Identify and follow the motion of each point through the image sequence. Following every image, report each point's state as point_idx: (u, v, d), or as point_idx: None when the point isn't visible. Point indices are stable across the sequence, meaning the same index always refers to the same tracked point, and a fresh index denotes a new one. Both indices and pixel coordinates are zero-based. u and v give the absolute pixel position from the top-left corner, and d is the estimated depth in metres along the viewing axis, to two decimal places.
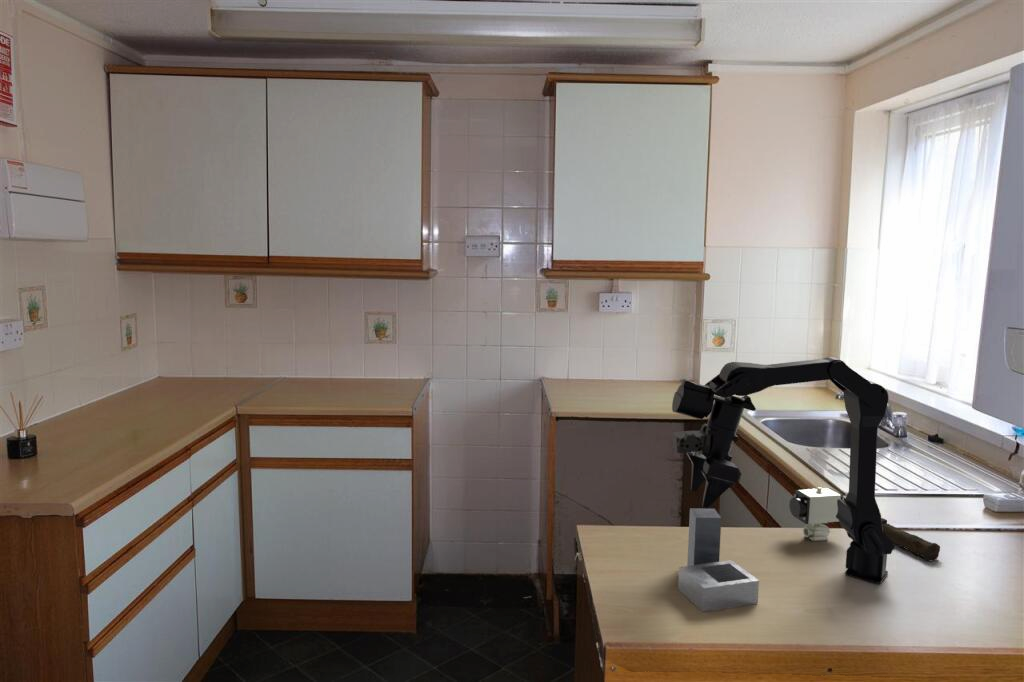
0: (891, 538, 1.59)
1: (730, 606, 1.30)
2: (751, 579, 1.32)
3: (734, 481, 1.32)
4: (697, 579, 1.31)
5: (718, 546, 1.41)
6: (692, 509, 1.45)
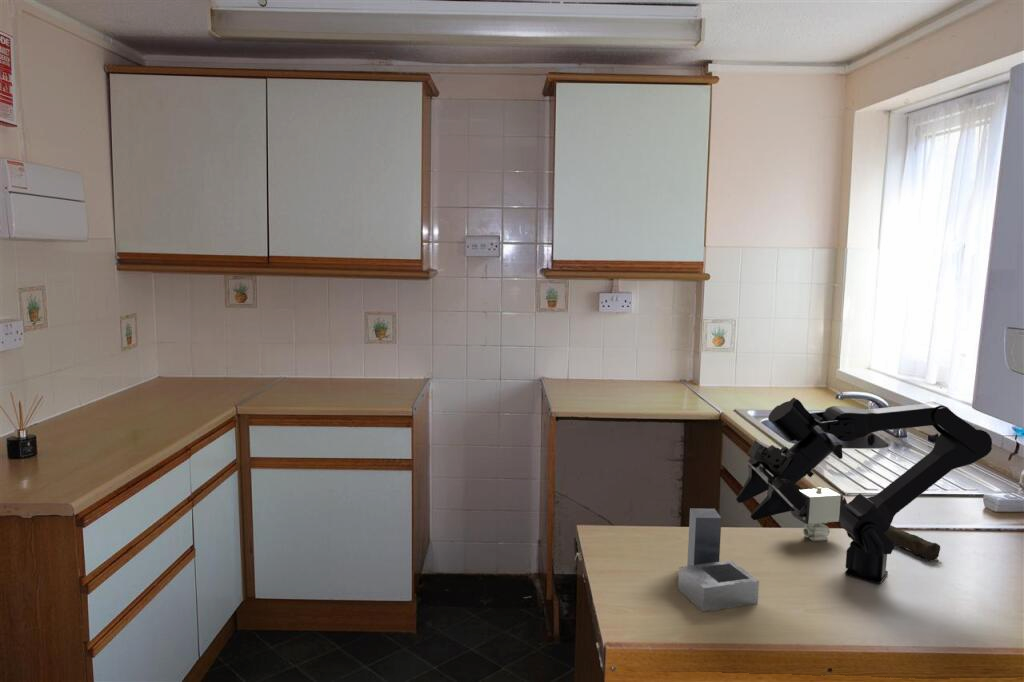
0: (891, 538, 1.59)
1: (730, 606, 1.30)
2: (751, 579, 1.32)
3: (798, 508, 1.33)
4: (697, 579, 1.31)
5: (718, 546, 1.41)
6: (692, 509, 1.45)
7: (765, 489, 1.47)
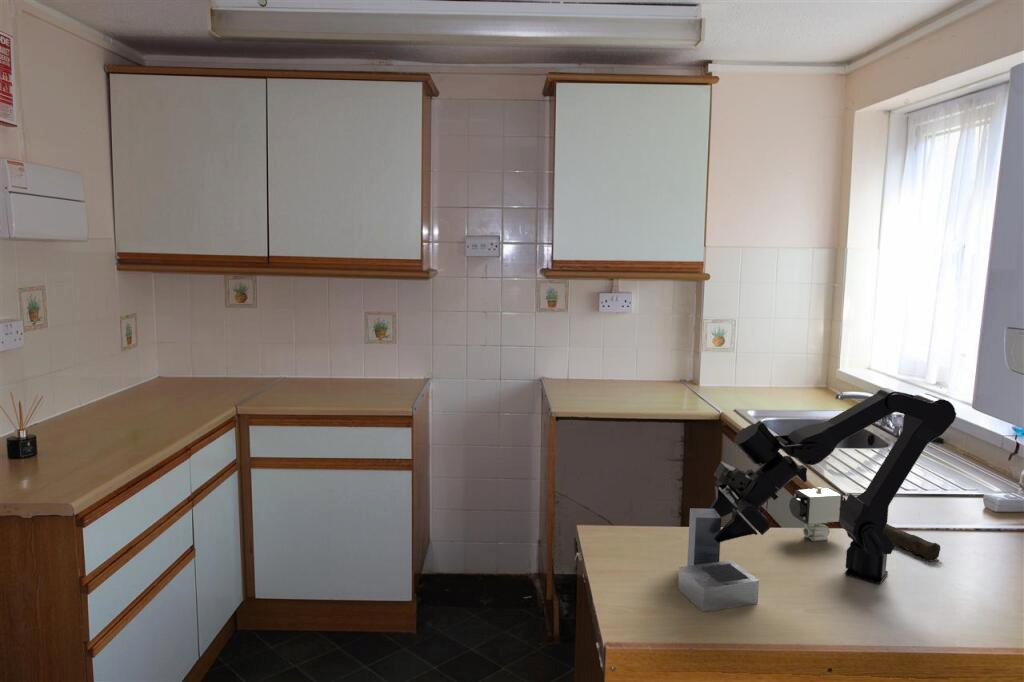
0: (891, 538, 1.59)
1: (730, 606, 1.30)
2: (751, 579, 1.32)
3: (760, 531, 1.33)
4: (697, 579, 1.31)
5: (718, 546, 1.41)
6: (692, 509, 1.45)
7: (731, 510, 1.48)
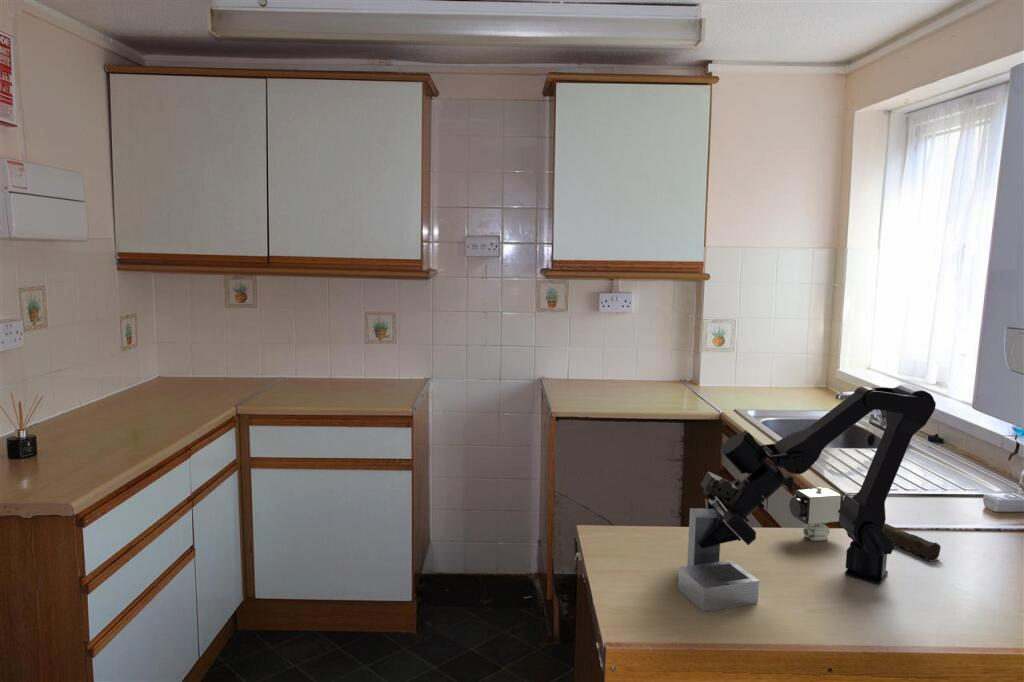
0: (891, 538, 1.59)
1: (730, 606, 1.30)
2: (751, 579, 1.32)
3: (746, 542, 1.34)
4: (697, 579, 1.31)
5: (718, 546, 1.41)
6: (692, 509, 1.45)
7: None
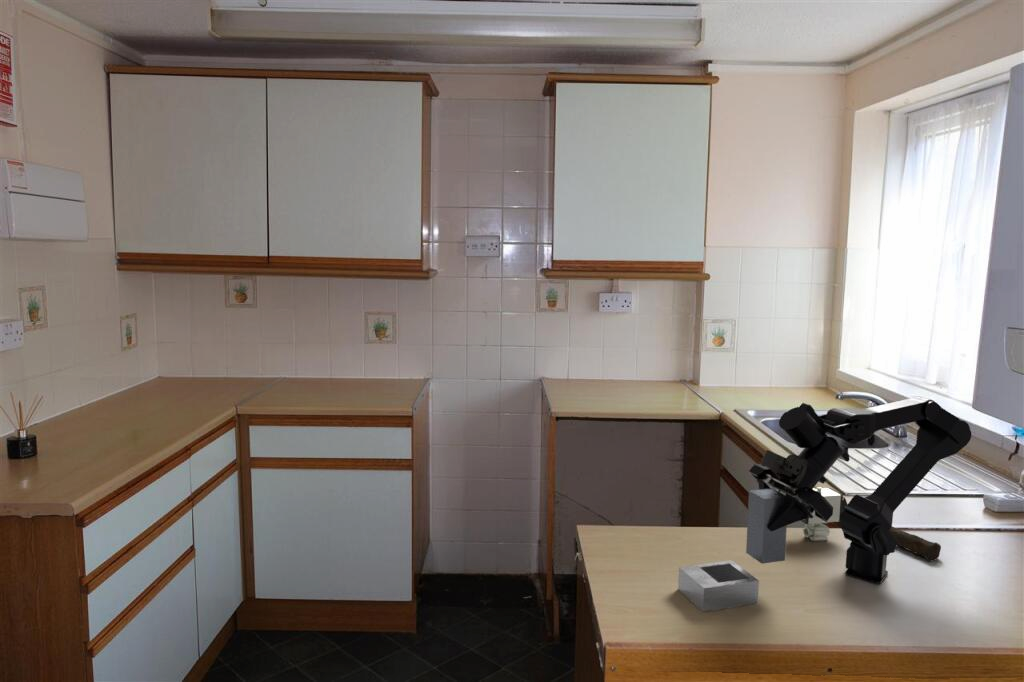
0: None
1: (730, 606, 1.30)
2: (751, 579, 1.32)
3: (826, 518, 1.28)
4: (697, 579, 1.31)
5: (785, 527, 1.34)
6: (752, 491, 1.36)
7: None
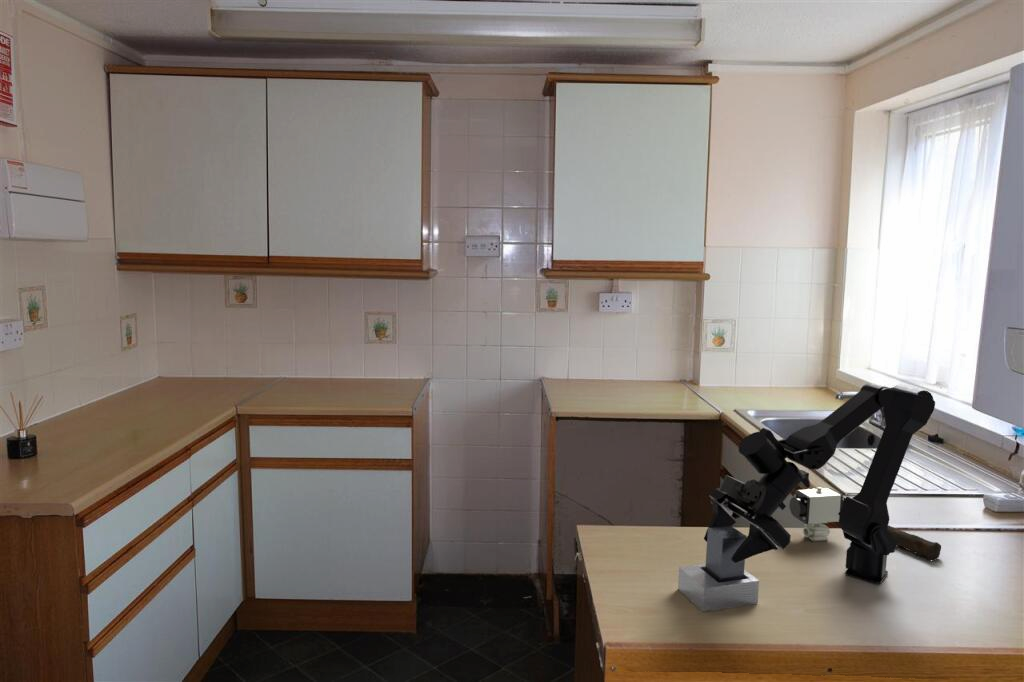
0: None
1: (730, 606, 1.30)
2: (751, 579, 1.32)
3: (783, 546, 1.26)
4: (697, 579, 1.31)
5: (743, 566, 1.32)
6: (711, 529, 1.34)
7: (730, 524, 1.39)
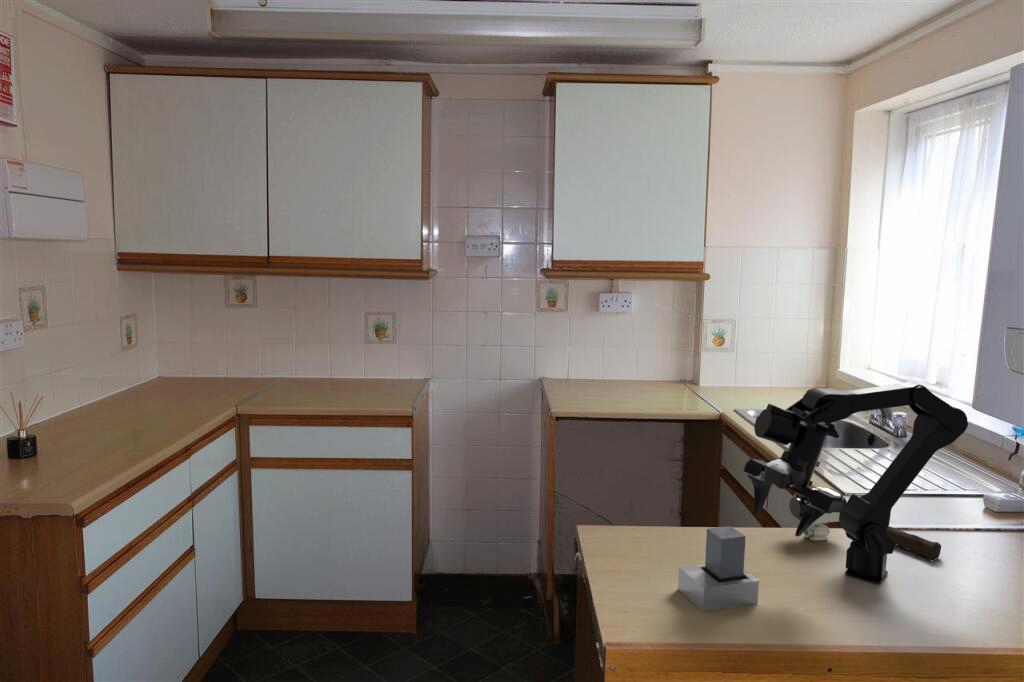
0: None
1: (730, 606, 1.30)
2: (751, 579, 1.32)
3: (839, 511, 1.35)
4: (697, 579, 1.31)
5: (742, 566, 1.32)
6: (710, 529, 1.34)
7: (770, 487, 1.46)
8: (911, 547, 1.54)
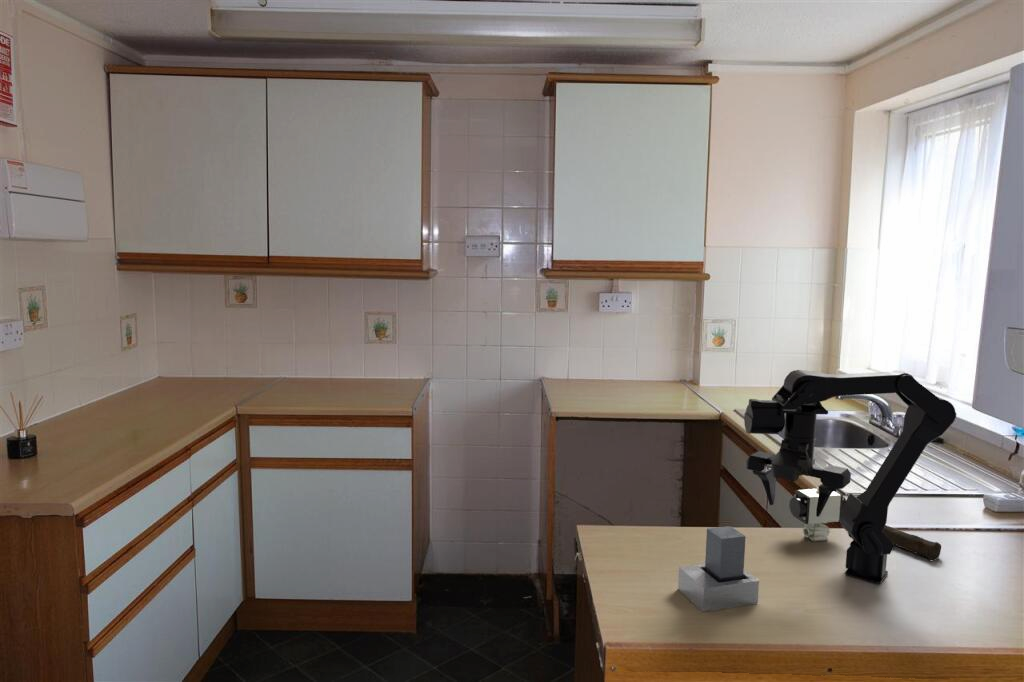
0: (890, 539, 1.58)
1: (730, 606, 1.30)
2: (751, 579, 1.32)
3: (849, 481, 1.38)
4: (697, 579, 1.31)
5: (742, 566, 1.32)
6: (710, 529, 1.34)
7: None
8: (911, 547, 1.54)
